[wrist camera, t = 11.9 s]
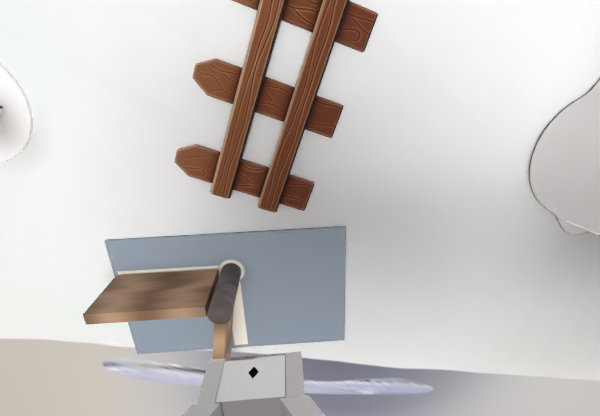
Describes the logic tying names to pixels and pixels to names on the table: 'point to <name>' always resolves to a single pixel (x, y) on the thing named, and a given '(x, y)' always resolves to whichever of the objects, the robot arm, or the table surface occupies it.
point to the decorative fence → (275, 99)
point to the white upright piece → (13, 117)
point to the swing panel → (222, 340)
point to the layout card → (247, 285)
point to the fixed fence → (168, 296)
